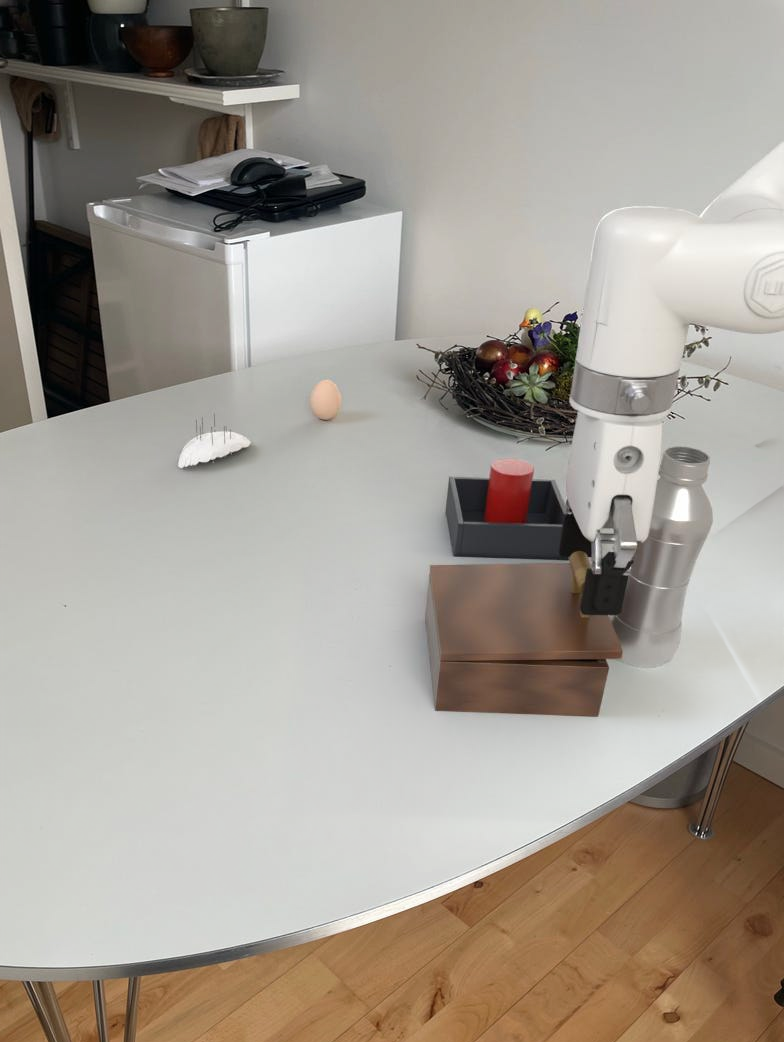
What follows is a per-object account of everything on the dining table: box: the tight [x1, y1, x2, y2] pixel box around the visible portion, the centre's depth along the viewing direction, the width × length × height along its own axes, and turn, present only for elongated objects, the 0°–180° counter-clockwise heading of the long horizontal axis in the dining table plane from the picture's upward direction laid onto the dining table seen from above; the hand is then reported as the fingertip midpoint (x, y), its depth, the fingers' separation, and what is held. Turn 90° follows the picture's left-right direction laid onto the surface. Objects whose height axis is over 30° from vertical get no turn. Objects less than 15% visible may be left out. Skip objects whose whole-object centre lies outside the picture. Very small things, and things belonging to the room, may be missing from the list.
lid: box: [429, 551, 623, 661], centre depth 83 cm, size 14×15×5 cm
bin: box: [445, 476, 570, 561], centre depth 108 cm, size 12×12×4 cm
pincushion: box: [177, 413, 252, 469], centre depth 126 cm, size 12×6×6 cm, turn 135°
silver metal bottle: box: [609, 445, 714, 669], centre depth 84 cm, size 6×7×20 cm
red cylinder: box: [484, 458, 535, 524], centre depth 107 cm, size 5×5×8 cm
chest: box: [424, 572, 610, 718], centre depth 86 cm, size 14×15×6 cm
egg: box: [309, 379, 342, 421], centre depth 138 cm, size 4×4×6 cm
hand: (587, 583), depth 83 cm, fingers open, 9 cm apart
